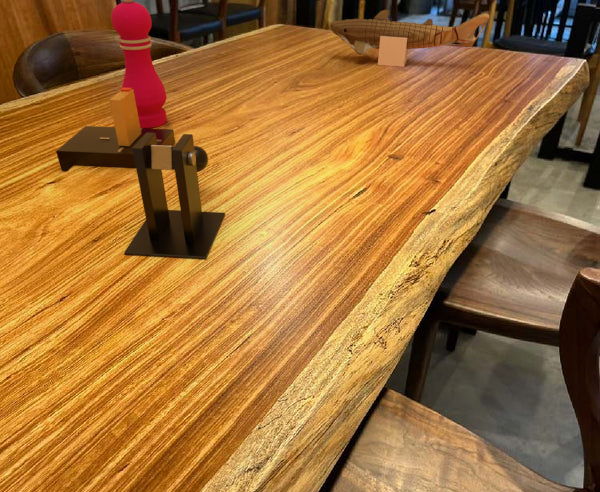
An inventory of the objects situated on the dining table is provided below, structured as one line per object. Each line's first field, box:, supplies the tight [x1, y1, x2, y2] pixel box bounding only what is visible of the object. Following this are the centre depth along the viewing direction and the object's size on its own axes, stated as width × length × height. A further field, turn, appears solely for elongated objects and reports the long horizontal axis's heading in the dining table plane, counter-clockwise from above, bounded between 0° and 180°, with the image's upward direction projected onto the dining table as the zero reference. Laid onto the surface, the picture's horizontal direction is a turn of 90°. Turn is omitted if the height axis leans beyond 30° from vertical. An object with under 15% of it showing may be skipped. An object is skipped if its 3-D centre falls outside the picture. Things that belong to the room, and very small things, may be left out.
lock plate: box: [55, 125, 176, 172], centre depth 79 cm, size 14×10×3 cm
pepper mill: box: [110, 0, 168, 129], centre depth 87 cm, size 7×7×20 cm
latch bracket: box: [123, 133, 226, 261], centre depth 58 cm, size 10×9×12 cm
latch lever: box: [151, 145, 209, 173], centre depth 61 cm, size 14×3×3 cm, turn 174°
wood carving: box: [329, 9, 490, 68], centre depth 122 cm, size 9×35×11 cm, turn 74°
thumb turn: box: [108, 87, 141, 146], centre depth 76 cm, size 5×2×7 cm, turn 174°
